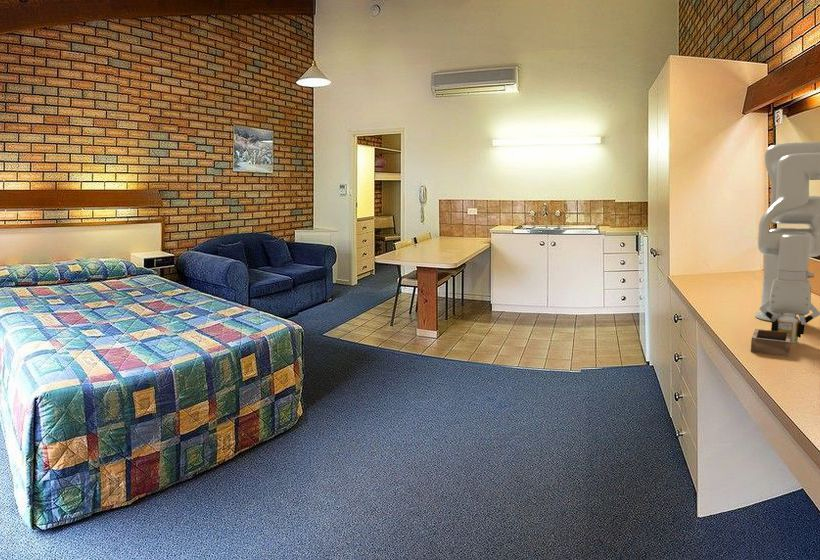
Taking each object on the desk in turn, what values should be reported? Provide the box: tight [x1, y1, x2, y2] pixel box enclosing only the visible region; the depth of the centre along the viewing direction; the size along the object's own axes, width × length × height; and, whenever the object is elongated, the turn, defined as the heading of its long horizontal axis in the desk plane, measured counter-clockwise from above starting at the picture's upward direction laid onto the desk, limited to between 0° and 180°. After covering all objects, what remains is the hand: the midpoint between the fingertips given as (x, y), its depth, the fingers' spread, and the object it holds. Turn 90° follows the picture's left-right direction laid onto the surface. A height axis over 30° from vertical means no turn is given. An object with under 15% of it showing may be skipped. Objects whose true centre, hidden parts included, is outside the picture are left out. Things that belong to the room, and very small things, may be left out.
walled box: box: [750, 328, 791, 357], centre depth 160 cm, size 12×9×4 cm
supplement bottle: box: [777, 313, 800, 344], centre depth 167 cm, size 5×5×10 cm
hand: (787, 334), depth 167 cm, fingers closed on supplement bottle, 5 cm apart
